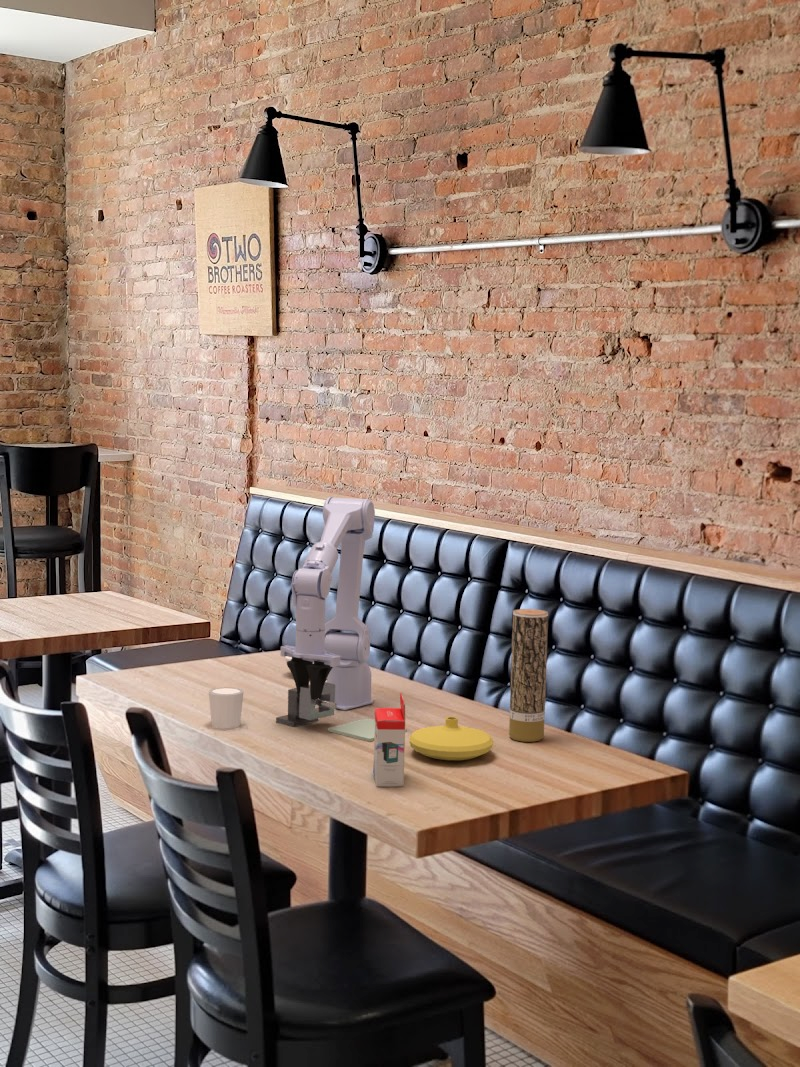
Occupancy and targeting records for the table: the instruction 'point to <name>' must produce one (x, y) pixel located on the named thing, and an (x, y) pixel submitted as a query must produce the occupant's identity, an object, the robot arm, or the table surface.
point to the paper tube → (528, 674)
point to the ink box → (389, 746)
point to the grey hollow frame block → (308, 704)
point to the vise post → (293, 710)
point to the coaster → (357, 729)
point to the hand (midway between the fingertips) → (309, 697)
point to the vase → (451, 741)
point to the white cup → (226, 707)
